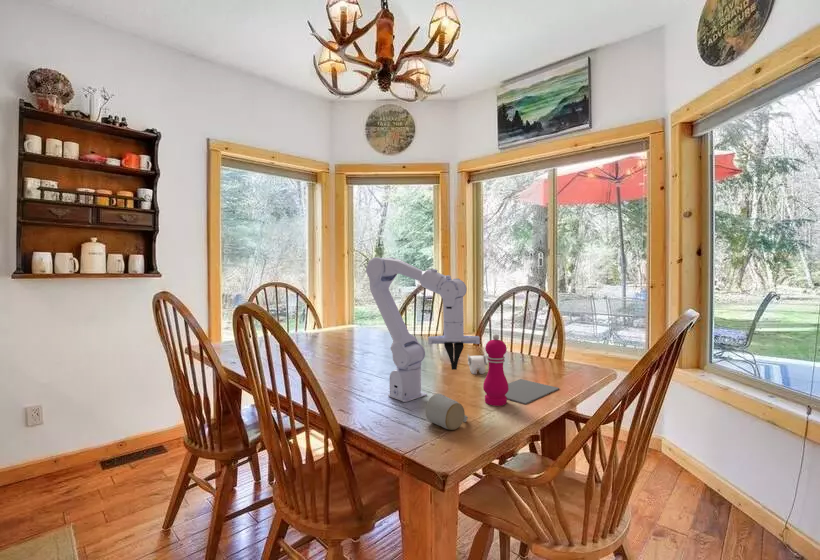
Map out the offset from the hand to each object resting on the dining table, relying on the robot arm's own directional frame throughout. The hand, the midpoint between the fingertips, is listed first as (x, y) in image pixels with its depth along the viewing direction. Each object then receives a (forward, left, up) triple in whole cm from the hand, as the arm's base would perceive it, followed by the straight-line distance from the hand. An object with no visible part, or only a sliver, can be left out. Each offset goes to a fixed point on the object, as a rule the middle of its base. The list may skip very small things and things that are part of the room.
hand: (454, 368), depth 117 cm
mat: (+25, -7, -11) cm, 28 cm away
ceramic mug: (-12, -8, -11) cm, 18 cm away
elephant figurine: (+32, +17, -11) cm, 38 cm away
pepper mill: (+10, -7, -11) cm, 16 cm away
